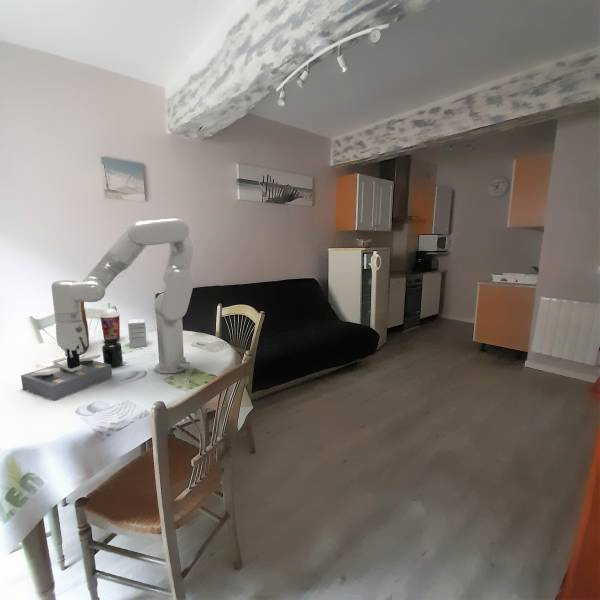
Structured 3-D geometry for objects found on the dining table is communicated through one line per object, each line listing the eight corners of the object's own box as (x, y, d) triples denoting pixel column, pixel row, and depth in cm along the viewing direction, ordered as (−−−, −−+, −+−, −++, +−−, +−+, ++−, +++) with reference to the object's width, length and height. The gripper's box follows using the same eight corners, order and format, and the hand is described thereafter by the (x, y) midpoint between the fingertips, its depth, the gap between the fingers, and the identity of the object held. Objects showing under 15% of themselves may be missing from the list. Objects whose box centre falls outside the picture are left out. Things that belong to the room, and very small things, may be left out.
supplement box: (129, 344, 159) (127, 319, 157) (146, 342, 163) (144, 318, 160) (129, 348, 153) (127, 323, 150) (147, 346, 156) (145, 321, 154)
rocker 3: (100, 357, 121) (99, 354, 121) (90, 360, 118) (89, 357, 118) (84, 358, 125) (83, 355, 125) (74, 361, 122) (73, 358, 122)
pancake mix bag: (94, 342, 160) (88, 287, 154) (88, 355, 143) (81, 293, 138) (78, 344, 157) (72, 287, 152) (69, 357, 140) (62, 294, 135)
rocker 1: (60, 370, 108) (59, 367, 108) (48, 374, 105) (47, 371, 105) (43, 371, 113) (42, 368, 113) (32, 375, 109) (31, 372, 109)
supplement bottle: (117, 361, 138) (114, 334, 135) (126, 364, 134) (124, 337, 132) (100, 366, 132) (97, 338, 130) (109, 370, 129) (107, 341, 126)
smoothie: (119, 338, 168) (116, 300, 164) (123, 342, 162) (120, 303, 158) (101, 340, 163) (97, 302, 159) (104, 345, 156) (100, 305, 153)
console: (112, 377, 122) (110, 363, 121) (54, 400, 104) (52, 384, 103) (81, 368, 129) (80, 355, 128) (22, 389, 111) (20, 373, 110)
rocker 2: (81, 368, 115) (81, 365, 115) (71, 372, 112) (71, 368, 112) (64, 360, 119) (63, 357, 118) (53, 363, 116) (53, 360, 115)
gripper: (93, 317, 111) (98, 367, 114) (66, 311, 116) (71, 359, 120) (71, 321, 104) (76, 374, 107) (43, 316, 110) (49, 366, 113)
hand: (73, 366), depth 113 cm, fingers closed
